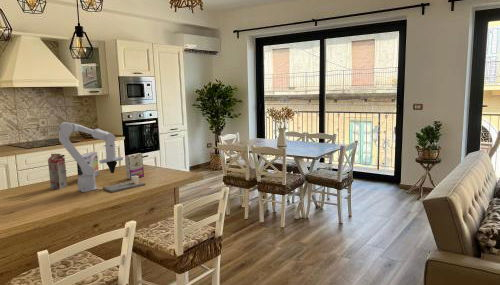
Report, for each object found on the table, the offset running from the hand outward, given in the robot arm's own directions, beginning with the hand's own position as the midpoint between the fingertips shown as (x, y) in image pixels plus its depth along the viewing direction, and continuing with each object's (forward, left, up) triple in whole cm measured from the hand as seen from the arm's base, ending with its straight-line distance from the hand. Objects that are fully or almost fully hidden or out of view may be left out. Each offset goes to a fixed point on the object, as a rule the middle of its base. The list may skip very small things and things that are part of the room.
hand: (112, 172), depth 228 cm
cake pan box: (-3, +32, -9) cm, 33 cm away
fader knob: (+11, -9, -7) cm, 16 cm away
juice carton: (-25, +23, -9) cm, 35 cm away
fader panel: (+3, -9, -8) cm, 13 cm away
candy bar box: (+20, +9, -9) cm, 24 cm away
